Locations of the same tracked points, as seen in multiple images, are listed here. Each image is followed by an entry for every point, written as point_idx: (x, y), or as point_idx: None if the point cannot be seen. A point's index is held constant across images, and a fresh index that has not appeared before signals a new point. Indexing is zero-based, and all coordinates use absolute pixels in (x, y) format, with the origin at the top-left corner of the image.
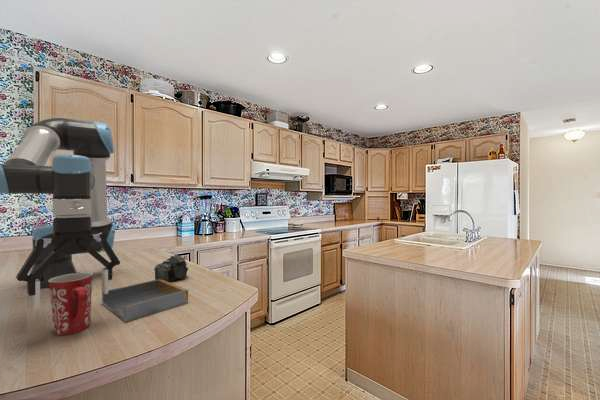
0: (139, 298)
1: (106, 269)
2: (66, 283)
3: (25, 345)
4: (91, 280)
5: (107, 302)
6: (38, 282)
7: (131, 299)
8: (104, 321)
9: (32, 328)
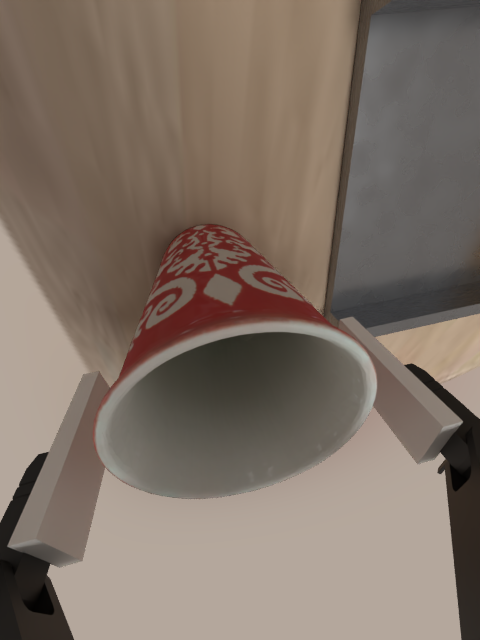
0: (473, 136)
1: (430, 458)
2: (214, 484)
3: (102, 315)
4: (329, 405)
5: (378, 58)
6: (76, 552)
7: (452, 120)
8: (291, 274)
9: (65, 156)
